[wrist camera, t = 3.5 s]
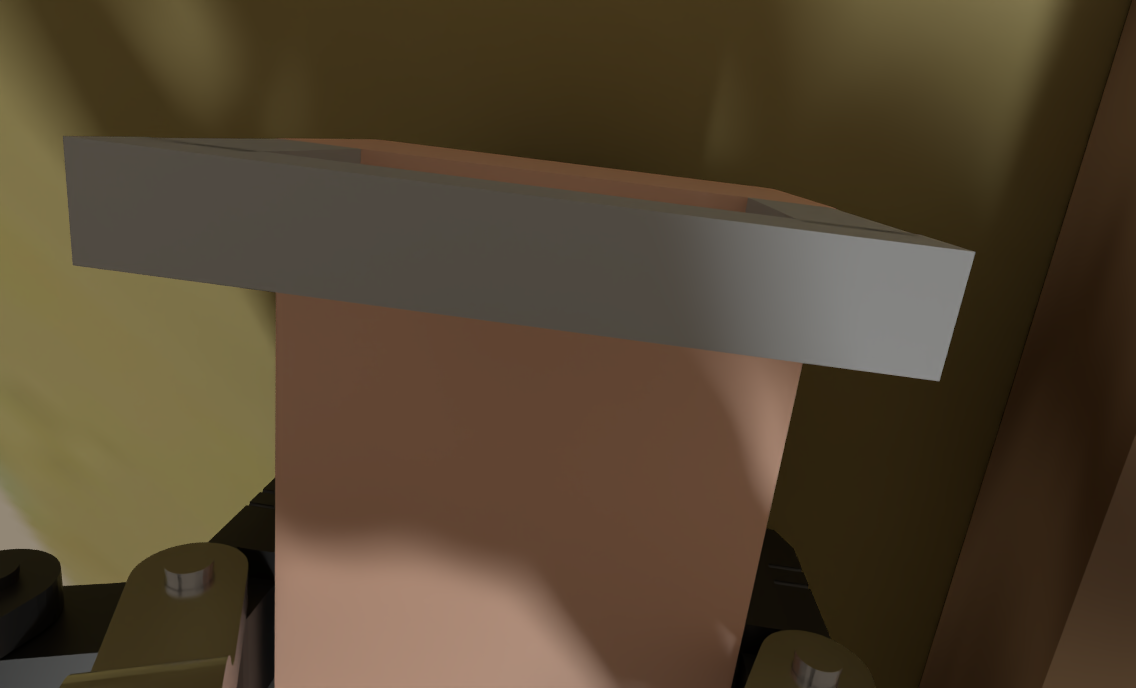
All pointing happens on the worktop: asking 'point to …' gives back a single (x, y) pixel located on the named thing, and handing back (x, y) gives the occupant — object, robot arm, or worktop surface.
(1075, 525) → the dock
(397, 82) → the worktop surface
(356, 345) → the tan board with wheels
